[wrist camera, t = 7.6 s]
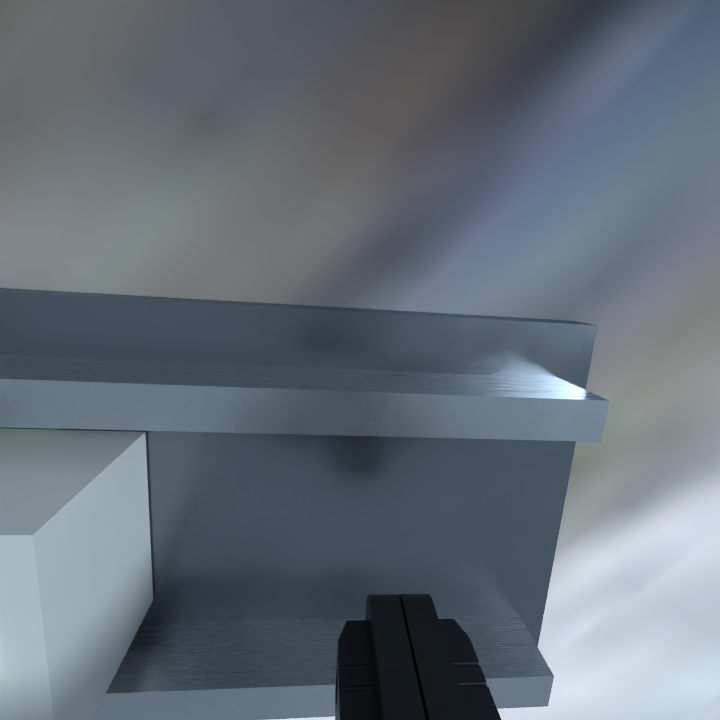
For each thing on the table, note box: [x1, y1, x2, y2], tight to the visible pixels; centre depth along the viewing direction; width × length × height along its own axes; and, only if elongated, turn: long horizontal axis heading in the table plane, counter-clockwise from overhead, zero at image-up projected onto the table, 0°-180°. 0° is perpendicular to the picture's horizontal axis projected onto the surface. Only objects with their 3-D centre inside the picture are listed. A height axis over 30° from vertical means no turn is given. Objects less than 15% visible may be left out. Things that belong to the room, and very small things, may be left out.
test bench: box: [0, 288, 609, 720], centre depth 11 cm, size 26×14×7 cm, turn 86°
